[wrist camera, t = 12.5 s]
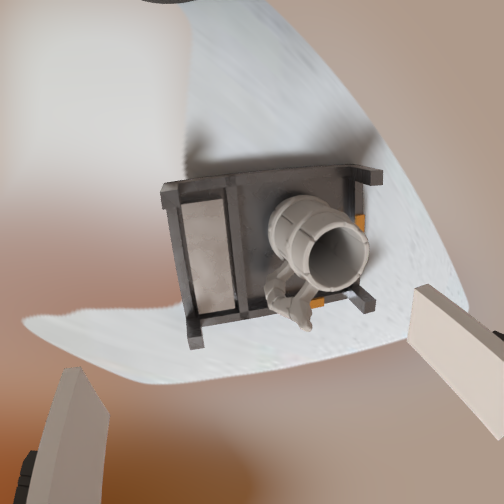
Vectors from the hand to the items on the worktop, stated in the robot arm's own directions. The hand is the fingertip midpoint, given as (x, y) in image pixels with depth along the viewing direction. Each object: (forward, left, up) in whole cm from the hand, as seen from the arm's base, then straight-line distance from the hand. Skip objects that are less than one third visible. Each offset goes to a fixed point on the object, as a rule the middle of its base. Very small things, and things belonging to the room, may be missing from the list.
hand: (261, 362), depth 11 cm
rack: (+4, +7, -24) cm, 25 cm away
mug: (+4, +8, -23) cm, 25 cm away
